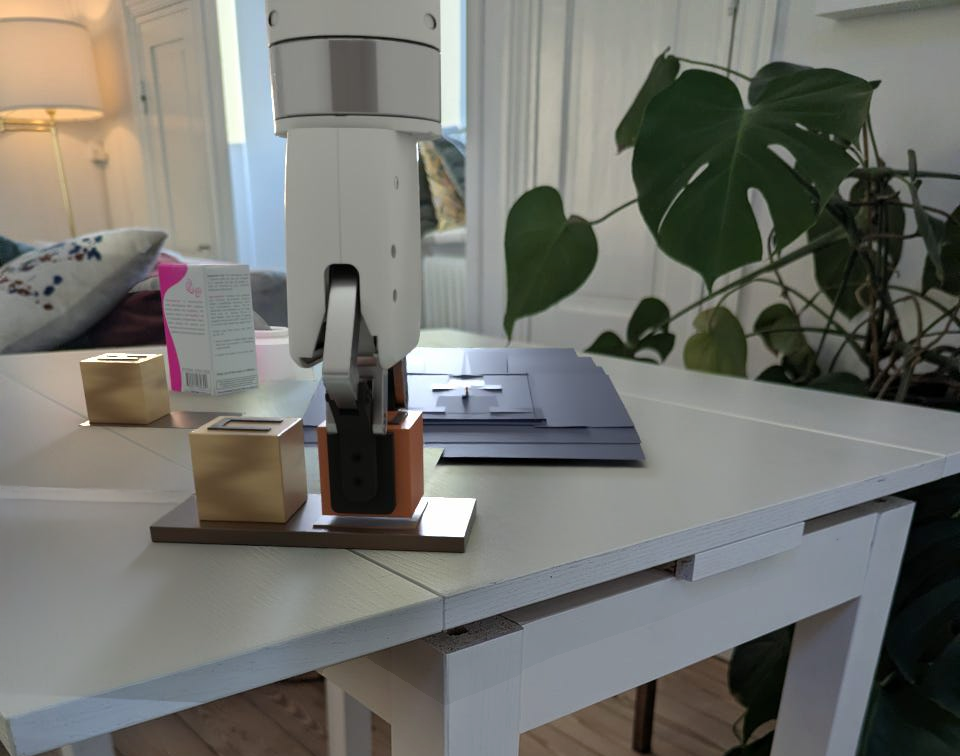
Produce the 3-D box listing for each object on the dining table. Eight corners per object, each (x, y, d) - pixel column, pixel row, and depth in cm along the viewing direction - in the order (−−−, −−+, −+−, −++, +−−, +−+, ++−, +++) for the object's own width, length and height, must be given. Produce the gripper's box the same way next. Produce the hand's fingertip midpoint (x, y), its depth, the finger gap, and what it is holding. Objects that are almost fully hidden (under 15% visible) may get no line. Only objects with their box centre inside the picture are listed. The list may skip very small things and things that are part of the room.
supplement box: (262, 395, 87) (251, 262, 82) (214, 404, 82) (200, 264, 78) (218, 389, 90) (205, 260, 85) (169, 398, 85) (152, 262, 81)
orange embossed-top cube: (321, 515, 48) (316, 424, 46) (341, 492, 52) (337, 407, 50) (411, 518, 47) (409, 426, 45) (424, 494, 51) (422, 409, 50)
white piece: (309, 389, 90) (302, 278, 86) (122, 388, 90) (106, 277, 86) (323, 374, 99) (317, 273, 95) (152, 373, 99) (138, 272, 95)
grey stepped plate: (591, 377, 90) (594, 338, 88) (646, 498, 64) (651, 446, 62) (337, 376, 89) (334, 337, 87) (290, 497, 64) (284, 445, 62)
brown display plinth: (151, 541, 48) (136, 435, 45) (200, 503, 54) (189, 408, 52) (464, 552, 46) (464, 443, 44) (476, 512, 53) (477, 416, 51)
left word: (79, 435, 70) (67, 361, 68) (116, 419, 76) (106, 350, 74) (219, 439, 70) (212, 364, 67) (246, 422, 75) (240, 353, 73)
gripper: (320, 120, 50) (339, 459, 57) (210, 74, 34) (255, 546, 42) (460, 119, 49) (461, 462, 57) (412, 73, 34) (422, 552, 41)
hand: (373, 494), depth 49 cm, fingers closed on orange embossed-top cube, 4 cm apart
